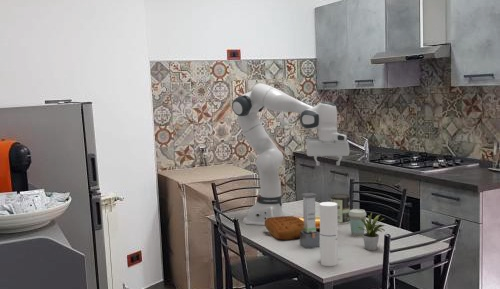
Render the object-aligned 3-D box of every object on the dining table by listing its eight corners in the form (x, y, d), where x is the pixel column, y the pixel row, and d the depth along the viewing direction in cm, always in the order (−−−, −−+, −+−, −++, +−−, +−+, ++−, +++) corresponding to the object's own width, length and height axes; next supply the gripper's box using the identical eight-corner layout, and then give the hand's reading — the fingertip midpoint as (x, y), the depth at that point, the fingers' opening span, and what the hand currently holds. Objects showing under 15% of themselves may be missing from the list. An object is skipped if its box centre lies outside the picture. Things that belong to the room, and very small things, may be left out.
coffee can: (348, 218, 275) (348, 193, 274) (351, 223, 265) (351, 197, 263) (329, 219, 276) (329, 193, 274) (332, 224, 265) (331, 198, 264)
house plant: (356, 254, 218) (356, 217, 216) (349, 244, 231) (349, 209, 230) (389, 253, 218) (389, 216, 216) (380, 243, 232) (380, 208, 230)
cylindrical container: (316, 262, 209) (316, 203, 206) (329, 259, 213) (329, 201, 210) (328, 267, 203) (327, 206, 200) (341, 263, 207) (341, 204, 204)
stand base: (303, 253, 220) (302, 236, 220) (292, 245, 232) (292, 228, 231) (327, 250, 224) (327, 232, 223) (316, 242, 235) (315, 226, 235)
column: (306, 236, 224) (306, 195, 222) (301, 232, 229) (301, 193, 227) (317, 234, 226) (316, 194, 223) (312, 231, 230) (311, 192, 228)
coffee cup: (366, 237, 241) (366, 213, 239) (348, 237, 243) (348, 212, 241) (366, 232, 249) (366, 208, 248) (348, 232, 251) (348, 208, 249)
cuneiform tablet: (263, 232, 255) (262, 216, 254) (294, 228, 260) (294, 213, 259) (278, 244, 234) (277, 228, 233) (312, 240, 239) (311, 224, 238)
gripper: (305, 137, 236) (305, 166, 238) (349, 136, 233) (350, 166, 235) (305, 135, 242) (306, 164, 244) (349, 135, 240) (349, 164, 241)
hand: (328, 165), depth 239 cm, fingers open, 8 cm apart
